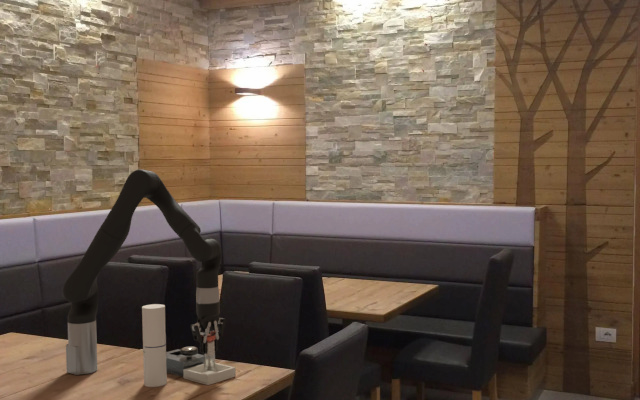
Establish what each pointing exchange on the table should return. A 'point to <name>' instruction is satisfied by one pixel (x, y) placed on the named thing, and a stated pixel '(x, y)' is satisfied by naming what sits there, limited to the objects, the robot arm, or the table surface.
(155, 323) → the cylindrical container
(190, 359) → the dark grey block
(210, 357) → the pin
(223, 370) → the dish
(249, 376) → the table surface
